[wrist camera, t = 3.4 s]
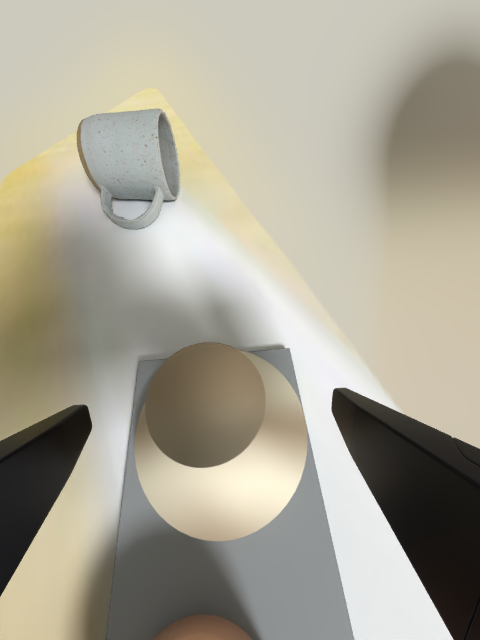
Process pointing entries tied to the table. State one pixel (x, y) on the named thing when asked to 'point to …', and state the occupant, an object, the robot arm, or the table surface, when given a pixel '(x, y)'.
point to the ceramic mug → (130, 160)
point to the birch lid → (219, 442)
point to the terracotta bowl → (202, 629)
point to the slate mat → (228, 559)
